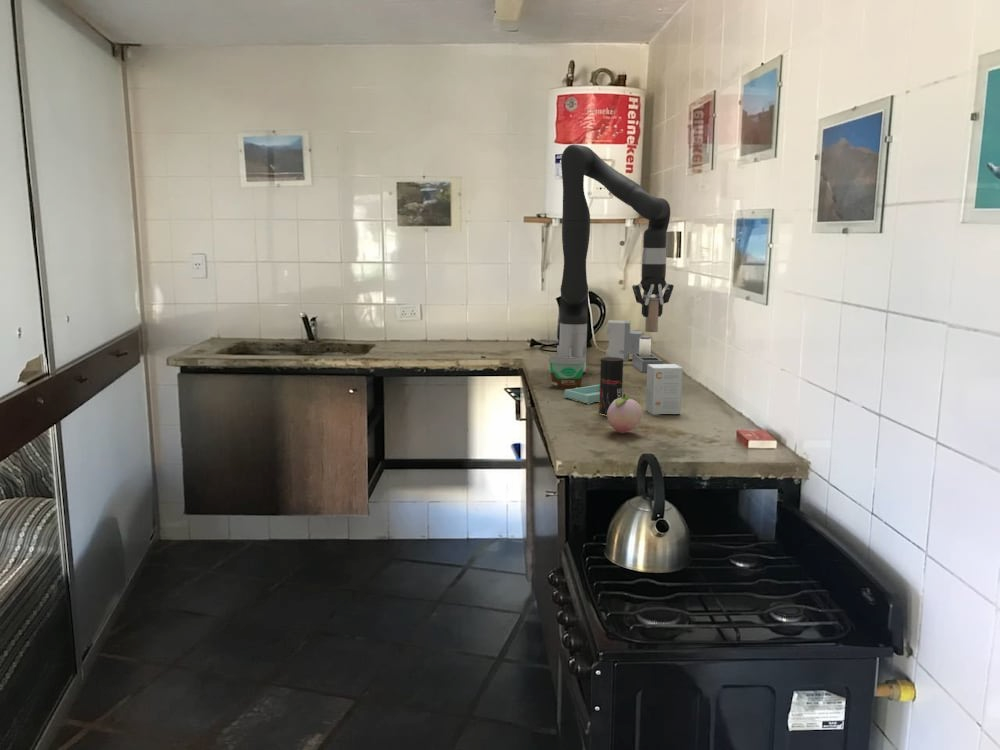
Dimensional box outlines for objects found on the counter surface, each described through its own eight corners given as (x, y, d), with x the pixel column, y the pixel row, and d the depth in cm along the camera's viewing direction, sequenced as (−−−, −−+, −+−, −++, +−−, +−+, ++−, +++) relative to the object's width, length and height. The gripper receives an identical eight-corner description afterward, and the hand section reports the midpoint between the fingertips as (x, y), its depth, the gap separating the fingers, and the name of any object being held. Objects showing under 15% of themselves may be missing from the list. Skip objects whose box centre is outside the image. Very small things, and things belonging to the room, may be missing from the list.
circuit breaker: (644, 364, 293) (646, 323, 290) (605, 362, 296) (607, 322, 293) (645, 361, 300) (647, 321, 297) (607, 359, 303) (608, 320, 300)
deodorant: (616, 417, 211) (618, 361, 208) (595, 414, 214) (597, 359, 211) (624, 413, 216) (626, 358, 214) (603, 410, 219) (605, 356, 216)
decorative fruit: (638, 440, 189) (640, 398, 187) (604, 437, 191) (605, 396, 190) (642, 430, 198) (644, 391, 196) (609, 428, 200) (611, 389, 198)
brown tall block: (654, 332, 254) (655, 298, 252) (642, 331, 256) (643, 297, 254) (660, 331, 257) (661, 297, 255) (648, 330, 259) (650, 296, 257)
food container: (553, 390, 245) (554, 358, 243) (547, 386, 251) (547, 355, 249) (591, 388, 248) (592, 357, 247) (584, 384, 254) (585, 353, 252)
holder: (662, 375, 271) (663, 341, 269) (641, 375, 271) (643, 341, 269) (651, 367, 287) (652, 334, 285) (631, 367, 287) (633, 334, 284)
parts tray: (587, 404, 226) (588, 395, 226) (564, 398, 234) (564, 389, 234) (622, 398, 235) (623, 390, 234) (599, 392, 243) (599, 384, 242)
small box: (673, 409, 221) (675, 363, 218) (680, 415, 215) (683, 367, 212) (644, 410, 220) (646, 363, 218) (651, 415, 214) (653, 367, 211)
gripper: (638, 263, 247) (637, 318, 250) (680, 262, 251) (677, 317, 254) (628, 262, 254) (626, 316, 257) (668, 261, 258) (666, 314, 261)
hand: (652, 316), depth 256 cm, fingers closed on brown tall block, 4 cm apart
